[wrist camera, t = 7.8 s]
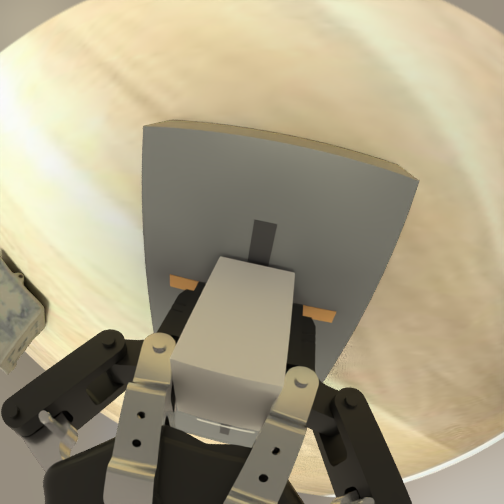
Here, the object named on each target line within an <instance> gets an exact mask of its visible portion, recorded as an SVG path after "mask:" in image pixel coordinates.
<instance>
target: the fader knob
mask: <svg viewBox="0 0 504 504" xmlns="http://www.w3.org/2000/svg"><path fill="white" fill-rule="evenodd" d="M294 280H295V273H294V272H289V271H285V270H280V269H275V268H271V267H266V266H262V265H257V264H253V263H248V262H244V261H239V260H235V259H230V258H226V257H221V256H220V258H219V260H218V261H217V263H216V265H215V267H214V269H213V271H212V273H211V275H210V277H209V279H208V281H207V283H206V285H205V287H204V289H203V291H202V293H201V295H200V297H199V299H198V301H197V303H196V305H195V307H194V309H193V311H192V313H191V315H190V317H189V319H188V321H187V323H186V325H185V328H184V330H183V332H182V334H181V336H180V338H179V340H178V342H177V344H176V346H175V348H174V350H173V352H172V355H171V357H170V365H171V372H172V376H173V385H174V391H175V397H176V401H177V408H178V411H181V412H184V413H187V414H190V415H194V416H197V417H201V418H204V419H208V420H211V421H215V422H219V423H223V424H228V425H232V426H236V427H241V428H246V429H251V430H256V431H260V428H261V426H262V424H263V422H264V420H266V418H267V416H268V413H269V411H270V409H271V407H272V405H273V402H274V400H275V398H278V397H279V395H280V393H281V391H282V389H283V387H284V380H285V372H286V363H287V354H288V345H289V335H290V325H291V315H292V304H293V292H294Z"/></svg>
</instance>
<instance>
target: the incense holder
mask: <svg viewBox="0 0 504 504" xmlns="http://www.w3.org/2000/svg"><path fill="white" fill-rule="evenodd" d="M44 312H45V311H44V307H43V305H42V304H41V303H40V302H39V301H38V300H37V299H36V298H35V297H34V296H33V295H32V294H31V293H30V292H29V291H28V290H27V289H26V288H25V286H24V275H23V274H22V273H12V271H11V270H10V269H9V267H8V266H7V265H6V264H5V262H4V261H3V259H2V258H1V257H0V369H1V370H2V371H3V372H5V373H6V374H7V375H8V374H9V373H10V372H11V371H12V370H13V369H14V368H15V367H16V365H17V360H18V359H19V358H20V356H21V355H22V354H23V353H24V351H25V350H26V348H27V347H28V346H29V344H30V343H31V342H32V340H33V339H34V338H35V337H36V336H37V335H39V334H40V332H41V331H42V330H43V329H44V328H45V314H44Z"/></svg>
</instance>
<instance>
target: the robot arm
mask: <svg viewBox="0 0 504 504" xmlns="http://www.w3.org/2000/svg"><path fill="white" fill-rule="evenodd" d="M205 285H206V283H205V282H201V281H199V282H198V284H197V286H196V288H195V290H194V291H193V290H189V289H186V290H184V291H183V292H182V293H180V294H179V295H178V296H177V298H176V300H175V302H174V304H173V305H172V307H171V309H170V310H169V312H168V314H167V315H166V317H165V319H164V321H163V322H162V324H161V326H160V328H159V329H158V331H157V332H156V333H153V334H151V335H149V336H148V337H146V339H145V340H125V339H124V336H123V335H122V334H121V333H120V332H119V331H116V330H111V329H109V330H104V331H102V332H100V333H99V334H97V335H96V336H94V337H93V338H92V339H90V340H89V341H87V342H86V343H84V344H83V345H82V346H80V347H79V348H77V349H76V350H75V351H73V352H72V353H70V354H69V355H67V356H66V357H65V358H63V359H62V360H60V361H59V362H58V363H56V364H55V365H53V366H52V367H51V368H49V369H48V370H47V371H45V372H44V373H42V374H41V375H40V376H38V377H37V378H36V379H34V380H33V381H31V382H30V383H29V384H27V385H26V386H25V387H23V388H22V389H20V390H19V391H18V392H16V393H15V394H14V395H12V396H11V397H10V398H8V399H7V400H6V401H5V402H4V404H3V406H2V411H1V414H2V418H3V420H4V422H5V423H6V424H7V425H8V426H9V427H10V428H11V429H12V430H14V431H15V432H16V433H17V434H18V435H19V436H20V437H21V438H23V440H24V442H25V443H26V445H27V446H28V448H29V449H30V451H31V452H32V454H33V455H34V457H35V458H36V460H37V461H38V463H39V464H40V465H41V467H42V468H43V469H44V471H45V472H46V474H45V476H44V480H43V487H44V495H45V504H304V503H303V501H302V499H301V498H300V497H299V495H298V494H297V492H296V491H295V489H294V488H293V486H292V485H291V483H290V482H289V480H288V478H289V476H290V473H291V471H292V468H293V466H294V463H295V461H296V458H297V456H298V453H299V450H300V448H301V445H302V442H303V440H304V437H305V434H306V430H307V427H308V428H310V429H312V430H313V433H314V435H315V438H316V441H317V444H318V447H319V450H320V453H321V455H322V458H323V461H324V464H325V467H326V470H327V472H328V475H329V478H330V481H331V484H332V487H333V490H334V492H335V495H336V498H335V499H334V500H333V501H332V502H331V503H330V504H412V502H411V500H410V497H409V495H408V492H407V490H406V487H405V485H404V483H403V480H402V478H401V476H400V473H399V471H398V469H397V466H396V464H395V462H394V460H393V457H392V455H391V453H390V450H389V448H388V446H387V444H386V442H385V439H384V437H383V435H382V433H381V431H380V428H379V426H378V424H377V422H376V420H375V418H374V416H373V413H372V411H371V409H370V407H369V405H368V403H367V401H366V399H365V397H364V395H363V394H362V393H361V392H360V391H359V390H357V389H354V388H343V389H341V390H340V391H338V390H335V389H333V388H331V387H328V386H326V385H325V384H323V383H322V382H321V381H320V380H319V379H318V377H317V375H316V372H315V350H316V344H315V342H316V337H315V335H316V326H315V324H314V322H313V320H312V318H311V317H307V316H303V305H302V304H297V303H293V304H292V315H291V325H290V335H289V345H288V354H287V363H286V372H285V380H284V387H283V389H282V391H281V393H280V395H279V397H278V398H275V400H274V402H273V405H272V407H271V409H270V411H269V413H268V416H267V418H266V420H264V422H263V424H262V426H261V428H260V431H259V433H258V435H257V437H256V439H255V441H254V443H253V445H252V447H251V448H250V447H245V446H240V445H235V444H206V443H204V442H202V441H200V440H198V439H196V438H194V437H193V436H191V435H189V434H187V433H186V432H184V431H182V430H179V429H176V428H175V414H176V405H177V401H176V397H175V391H174V385H173V376H172V372H171V365H170V357H171V355H172V352H173V350H174V348H175V346H176V344H177V342H178V340H179V338H180V336H181V334H182V332H183V330H184V328H185V325H186V323H187V321H188V319H189V317H190V315H191V313H192V311H193V309H194V307H195V305H196V303H197V301H198V299H199V297H200V295H201V293H202V291H203V289H204V287H205ZM125 390H126V392H125V396H124V400H123V405H122V409H121V414H120V418H119V423H118V428H117V433H116V437H114V438H112V439H110V440H108V441H106V442H104V443H101V444H99V445H97V446H95V447H93V448H91V449H88V450H86V451H84V452H81V453H78V454H76V455H74V456H71V457H70V452H71V449H72V448H73V446H75V444H76V442H77V440H78V433H77V430H78V429H80V428H81V427H82V426H83V425H84V424H86V423H87V422H88V421H89V420H90V419H92V418H93V417H94V416H95V415H97V414H98V413H99V412H100V411H101V410H103V409H104V408H105V407H106V406H107V405H109V404H110V403H111V402H112V401H113V400H115V399H116V398H117V397H118V396H119V395H121V394H122V393H123V392H124V391H125Z"/></svg>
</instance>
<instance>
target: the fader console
mask: <svg viewBox="0 0 504 504" xmlns="http://www.w3.org/2000/svg"><path fill="white" fill-rule="evenodd" d="M418 183H419V180H417V179H416V178H415V177H414V176H412V175H411V174H410V173H408V172H407V171H406V170H404V169H403V168H402V167H400V166H399V165H397V164H394V163H391V162H388V161H385V160H382V159H379V158H376V157H372V156H369V155H366V154H362V153H359V152H356V151H352V150H348V149H345V148H341V147H337V146H333V145H329V144H325V143H321V142H317V141H313V140H309V139H304V138H299V137H295V136H290V135H285V134H280V133H274V132H269V131H263V130H257V129H251V128H244V127H237V126H230V125H222V124H214V123H204V122H194V121H181V120H169V121H164V122H159V123H155V124H150V125H146V126H143V147H142V214H143V236H144V251H145V264H146V275H147V285H148V294H149V302H150V310H151V317H152V324H153V330H154V333H156V332H157V331H158V329H159V328H160V326H161V324H162V322H163V321H164V319H165V317H166V315H167V314H168V312H169V310H170V309H171V307H172V305H173V304H174V302H175V300H176V298H177V296H178V295H179V294H180V293H182V292H183V291H184V290H186V289H189V290H193V291H194V290H195V288H196V286H197V284H198V282H199V281H201V282H205V283H207V281H208V279H209V277H210V275H211V273H212V271H213V269H214V267H215V265H216V263H217V261H218V260H219V258H220V256H221V257H226V258H230V259H235V260H239V261H244V262H248V263H253V264H257V265H262V266H266V267H271V268H275V269H280V270H285V271H289V272H294V273H295V280H294V292H293V303H297V304H302V305H303V316H307V317H311V318H312V320H313V322H314V324H315V326H316V335H315V337H316V342H315V344H316V350H315V372H316V375H317V377H318V379H319V380H320V381H321V382H322V383H323V381H324V380H325V378H326V377H327V375H328V374H329V372H330V370H331V369H332V367H333V366H334V364H335V362H336V361H337V359H338V358H339V356H340V354H341V353H342V351H343V349H344V347H345V346H346V344H347V342H348V341H349V339H350V337H351V335H352V334H353V332H354V330H355V328H356V326H357V325H358V323H359V321H360V319H361V317H362V315H363V313H364V312H365V310H366V308H367V306H368V304H369V302H370V300H371V298H372V296H373V294H374V292H375V290H376V288H377V286H378V284H379V281H380V279H381V277H382V275H383V273H384V271H385V269H386V266H387V264H388V262H389V260H390V257H391V255H392V253H393V250H394V248H395V246H396V243H397V241H398V238H399V236H400V233H401V231H402V228H403V226H404V223H405V221H406V218H407V215H408V212H409V210H410V207H411V204H412V201H413V198H414V195H415V193H416V190H417V186H418ZM175 428H176V429H179V430H182V431H184V432H186V433H190V434H193V435H196V436H200V437H204V438H207V439H211V440H215V441H219V442H223V443H227V444H235V445H240V446H245V447H250V448H251V447H252V445H253V443H254V441H255V439H256V437H257V435H258V433H259V431H256V430H251V429H246V428H241V427H236V426H232V425H228V424H223V423H219V422H215V421H211V420H208V419H204V418H201V417H197V416H194V415H190V414H187V413H184V412H181V411H178V408H177V405H176V414H175Z"/></svg>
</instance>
